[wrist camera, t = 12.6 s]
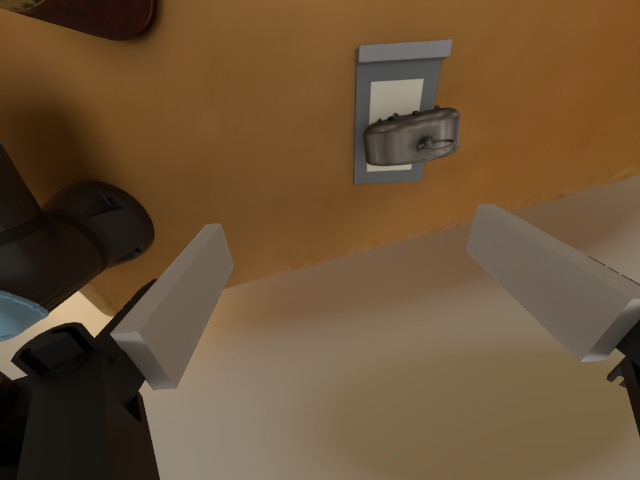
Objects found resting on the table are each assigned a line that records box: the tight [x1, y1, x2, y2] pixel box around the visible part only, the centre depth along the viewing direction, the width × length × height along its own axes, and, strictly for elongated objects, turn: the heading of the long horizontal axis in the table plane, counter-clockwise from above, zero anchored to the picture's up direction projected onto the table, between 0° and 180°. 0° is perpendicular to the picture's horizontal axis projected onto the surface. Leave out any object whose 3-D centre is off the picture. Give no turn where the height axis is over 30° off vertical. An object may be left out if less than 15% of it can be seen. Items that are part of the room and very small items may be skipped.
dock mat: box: [354, 40, 452, 184], centre depth 34 cm, size 11×18×3 cm, turn 3°
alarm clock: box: [363, 105, 460, 166], centre depth 28 cm, size 11×5×16 cm, turn 102°
